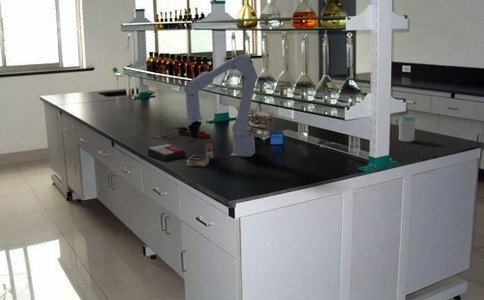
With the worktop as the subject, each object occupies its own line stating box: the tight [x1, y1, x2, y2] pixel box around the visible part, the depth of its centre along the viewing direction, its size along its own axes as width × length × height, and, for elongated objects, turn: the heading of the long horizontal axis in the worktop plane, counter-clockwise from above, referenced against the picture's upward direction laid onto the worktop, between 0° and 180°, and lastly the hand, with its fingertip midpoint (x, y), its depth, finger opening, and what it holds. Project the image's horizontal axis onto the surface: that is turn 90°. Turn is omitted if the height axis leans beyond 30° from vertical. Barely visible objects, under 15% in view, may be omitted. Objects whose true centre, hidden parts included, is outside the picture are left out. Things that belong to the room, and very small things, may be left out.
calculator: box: [147, 143, 186, 162], centre depth 254 cm, size 11×4×15 cm
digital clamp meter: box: [151, 126, 211, 145], centre depth 290 cm, size 23×4×25 cm
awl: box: [205, 143, 214, 161], centre depth 246 cm, size 3×3×6 cm
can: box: [398, 114, 416, 143], centre depth 264 cm, size 7×7×12 cm
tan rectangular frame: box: [185, 154, 210, 167], centre depth 238 cm, size 8×6×3 cm
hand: (195, 138), depth 253 cm, fingers closed
